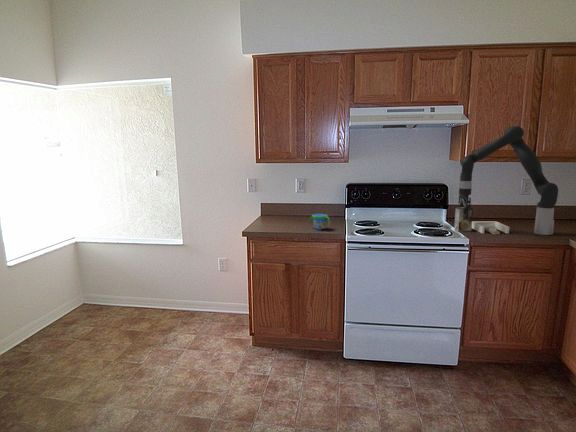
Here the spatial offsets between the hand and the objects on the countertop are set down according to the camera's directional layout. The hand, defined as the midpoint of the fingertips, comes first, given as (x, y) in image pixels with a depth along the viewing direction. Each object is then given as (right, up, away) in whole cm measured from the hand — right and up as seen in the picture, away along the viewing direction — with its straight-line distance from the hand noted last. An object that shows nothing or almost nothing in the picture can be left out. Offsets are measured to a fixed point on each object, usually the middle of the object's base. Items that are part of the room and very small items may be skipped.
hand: (463, 211), depth 250 cm
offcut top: (+16, -12, -6) cm, 21 cm away
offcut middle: (+16, -14, -5) cm, 22 cm away
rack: (+17, -13, +1) cm, 22 cm away
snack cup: (-95, -12, +15) cm, 97 cm away
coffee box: (0, -13, +2) cm, 14 cm away
